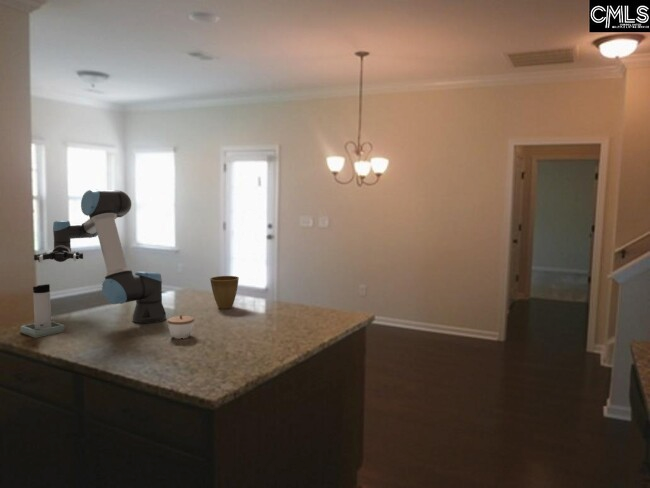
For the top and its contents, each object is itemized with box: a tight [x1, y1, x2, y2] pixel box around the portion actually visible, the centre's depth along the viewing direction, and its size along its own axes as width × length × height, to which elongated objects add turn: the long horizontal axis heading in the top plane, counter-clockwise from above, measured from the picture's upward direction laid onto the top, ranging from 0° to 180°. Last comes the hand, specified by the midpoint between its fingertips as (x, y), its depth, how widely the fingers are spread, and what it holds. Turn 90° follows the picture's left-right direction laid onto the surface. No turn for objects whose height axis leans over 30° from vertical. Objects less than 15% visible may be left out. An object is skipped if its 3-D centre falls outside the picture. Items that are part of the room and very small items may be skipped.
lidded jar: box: [167, 314, 195, 340], centre depth 206 cm, size 11×11×9 cm
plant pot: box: [209, 275, 239, 310], centre depth 260 cm, size 15×15×16 cm
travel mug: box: [32, 283, 52, 330], centre depth 210 cm, size 6×7×20 cm
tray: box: [20, 320, 66, 339], centre depth 210 cm, size 13×12×3 cm
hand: (57, 258), depth 221 cm, fingers open, 13 cm apart
